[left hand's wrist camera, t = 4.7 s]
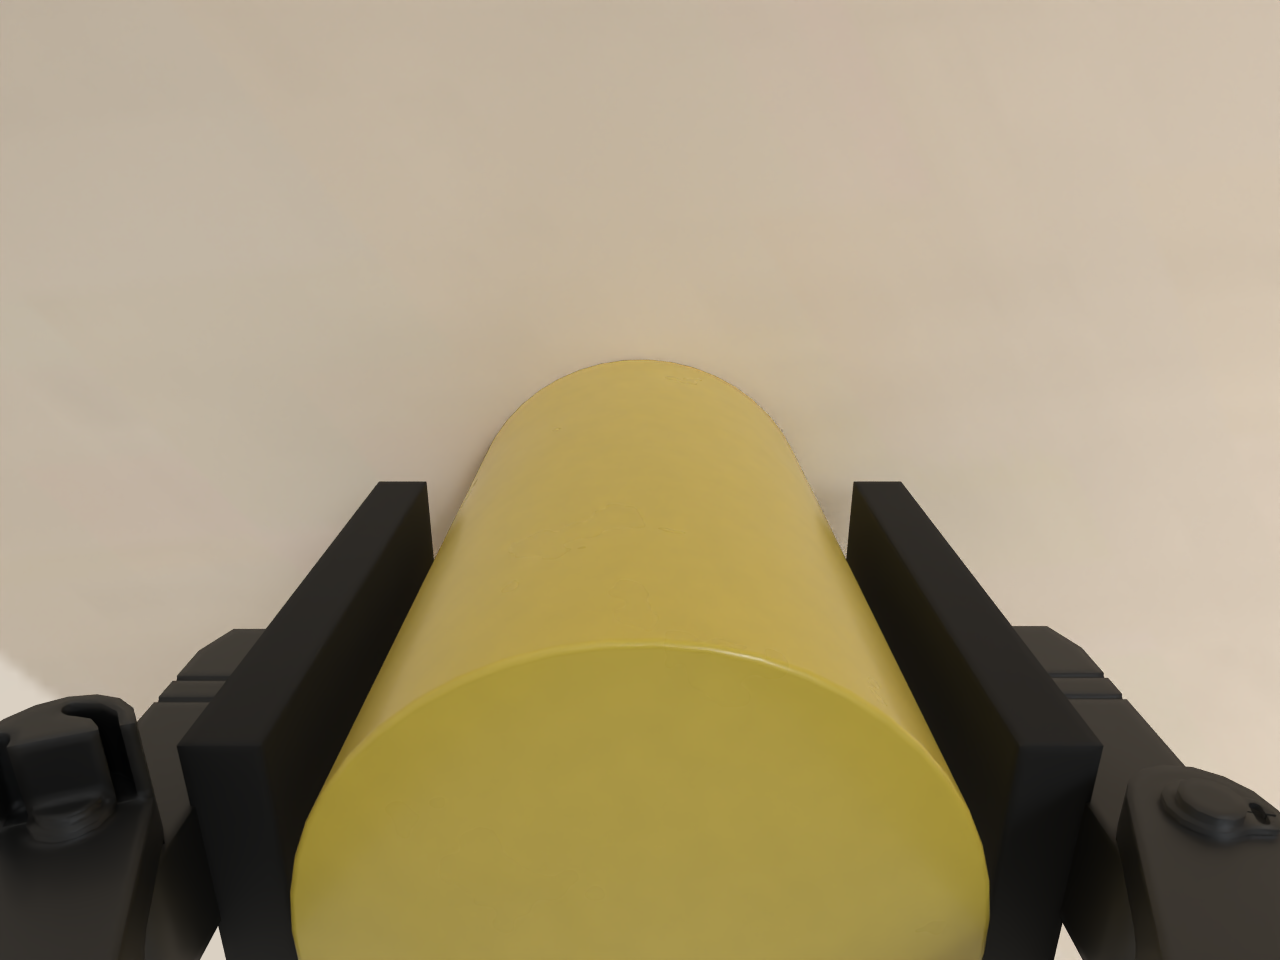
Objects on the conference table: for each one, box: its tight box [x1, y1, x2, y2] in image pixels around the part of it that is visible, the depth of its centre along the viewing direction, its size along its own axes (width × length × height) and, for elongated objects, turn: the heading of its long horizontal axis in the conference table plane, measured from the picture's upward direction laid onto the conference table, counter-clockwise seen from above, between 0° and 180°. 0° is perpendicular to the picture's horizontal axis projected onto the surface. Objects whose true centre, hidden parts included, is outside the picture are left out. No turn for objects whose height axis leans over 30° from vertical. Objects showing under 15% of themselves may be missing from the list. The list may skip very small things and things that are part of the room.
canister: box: [290, 360, 990, 960], centre depth 12 cm, size 6×6×9 cm
